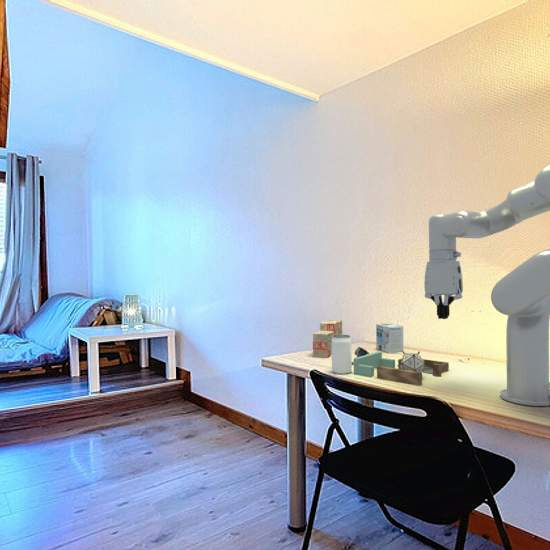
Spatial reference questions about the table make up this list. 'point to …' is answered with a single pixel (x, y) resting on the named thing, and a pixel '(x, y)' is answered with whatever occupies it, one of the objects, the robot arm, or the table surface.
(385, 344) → the light bulb box
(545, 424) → the table surface
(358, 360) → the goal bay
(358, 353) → the snack package
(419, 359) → the game die
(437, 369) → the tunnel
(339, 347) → the can
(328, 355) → the stack of blocks
